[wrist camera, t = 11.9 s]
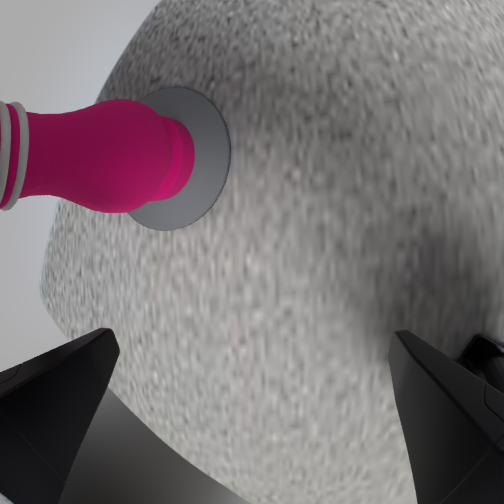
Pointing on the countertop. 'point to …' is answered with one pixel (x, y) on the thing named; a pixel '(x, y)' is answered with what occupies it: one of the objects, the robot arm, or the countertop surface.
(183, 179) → the pepper mill
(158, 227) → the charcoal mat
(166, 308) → the countertop surface
